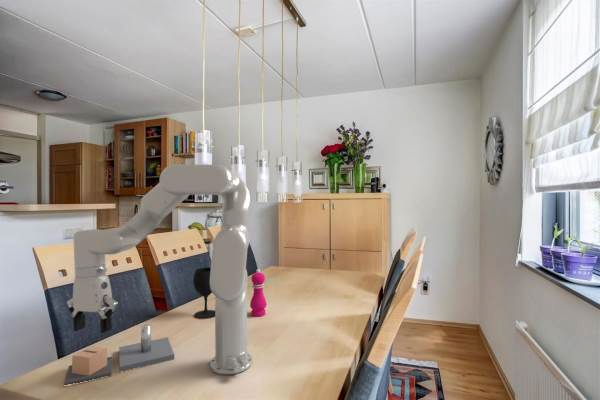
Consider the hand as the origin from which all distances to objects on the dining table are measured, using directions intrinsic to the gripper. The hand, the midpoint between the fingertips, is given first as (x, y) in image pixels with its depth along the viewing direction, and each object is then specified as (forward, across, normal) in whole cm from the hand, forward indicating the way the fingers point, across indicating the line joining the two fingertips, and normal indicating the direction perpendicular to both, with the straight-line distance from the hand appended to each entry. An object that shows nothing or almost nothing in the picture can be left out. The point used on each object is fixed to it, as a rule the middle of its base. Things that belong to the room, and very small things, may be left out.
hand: (92, 330), depth 92 cm
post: (+11, -7, -12) cm, 18 cm away
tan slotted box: (+11, +1, 0) cm, 11 cm away
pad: (+12, +1, 0) cm, 12 cm away
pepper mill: (+14, -28, -56) cm, 64 cm away
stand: (+13, -7, -12) cm, 19 cm away
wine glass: (+13, -6, -50) cm, 52 cm away
